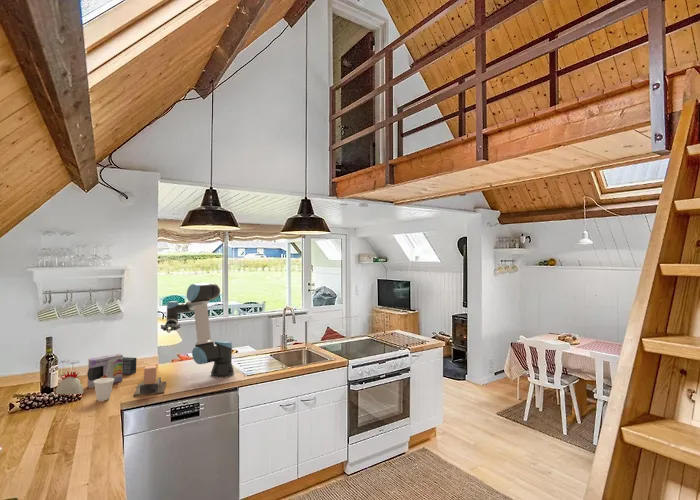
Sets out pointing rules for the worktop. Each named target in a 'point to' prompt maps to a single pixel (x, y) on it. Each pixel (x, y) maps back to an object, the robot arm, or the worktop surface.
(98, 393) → the cup
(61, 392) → the red-crested grey dome
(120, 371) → the cake pan box
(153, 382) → the block
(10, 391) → the worktop surface
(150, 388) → the grey socket base
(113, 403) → the worktop surface
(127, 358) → the small box
